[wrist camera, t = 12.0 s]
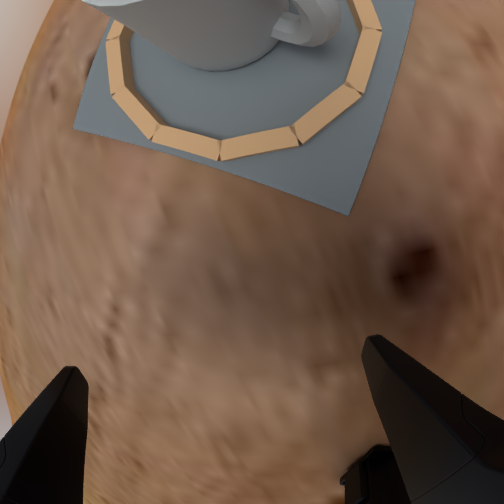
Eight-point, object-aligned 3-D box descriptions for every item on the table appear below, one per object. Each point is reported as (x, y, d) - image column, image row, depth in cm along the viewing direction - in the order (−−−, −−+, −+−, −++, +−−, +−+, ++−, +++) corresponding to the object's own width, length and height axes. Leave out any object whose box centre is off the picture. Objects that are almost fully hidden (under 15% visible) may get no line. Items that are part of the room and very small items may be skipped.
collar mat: (416, -15, 11) (424, -28, 9) (346, 214, 16) (351, 220, 14) (159, -60, 12) (149, -71, 10) (78, 129, 17) (61, 128, 15)
